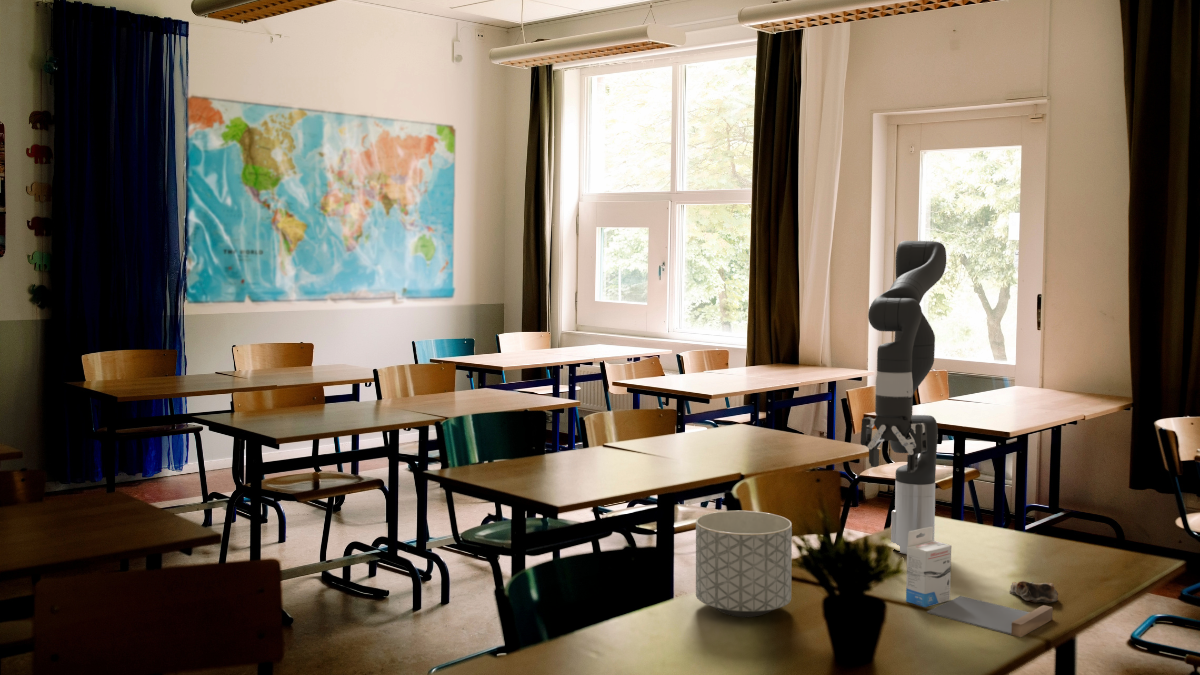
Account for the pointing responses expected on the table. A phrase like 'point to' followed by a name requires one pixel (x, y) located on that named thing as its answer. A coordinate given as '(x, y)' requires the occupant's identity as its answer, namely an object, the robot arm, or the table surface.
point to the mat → (979, 613)
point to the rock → (1035, 591)
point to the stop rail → (1031, 621)
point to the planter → (743, 562)
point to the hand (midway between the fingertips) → (892, 469)
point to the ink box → (927, 569)
